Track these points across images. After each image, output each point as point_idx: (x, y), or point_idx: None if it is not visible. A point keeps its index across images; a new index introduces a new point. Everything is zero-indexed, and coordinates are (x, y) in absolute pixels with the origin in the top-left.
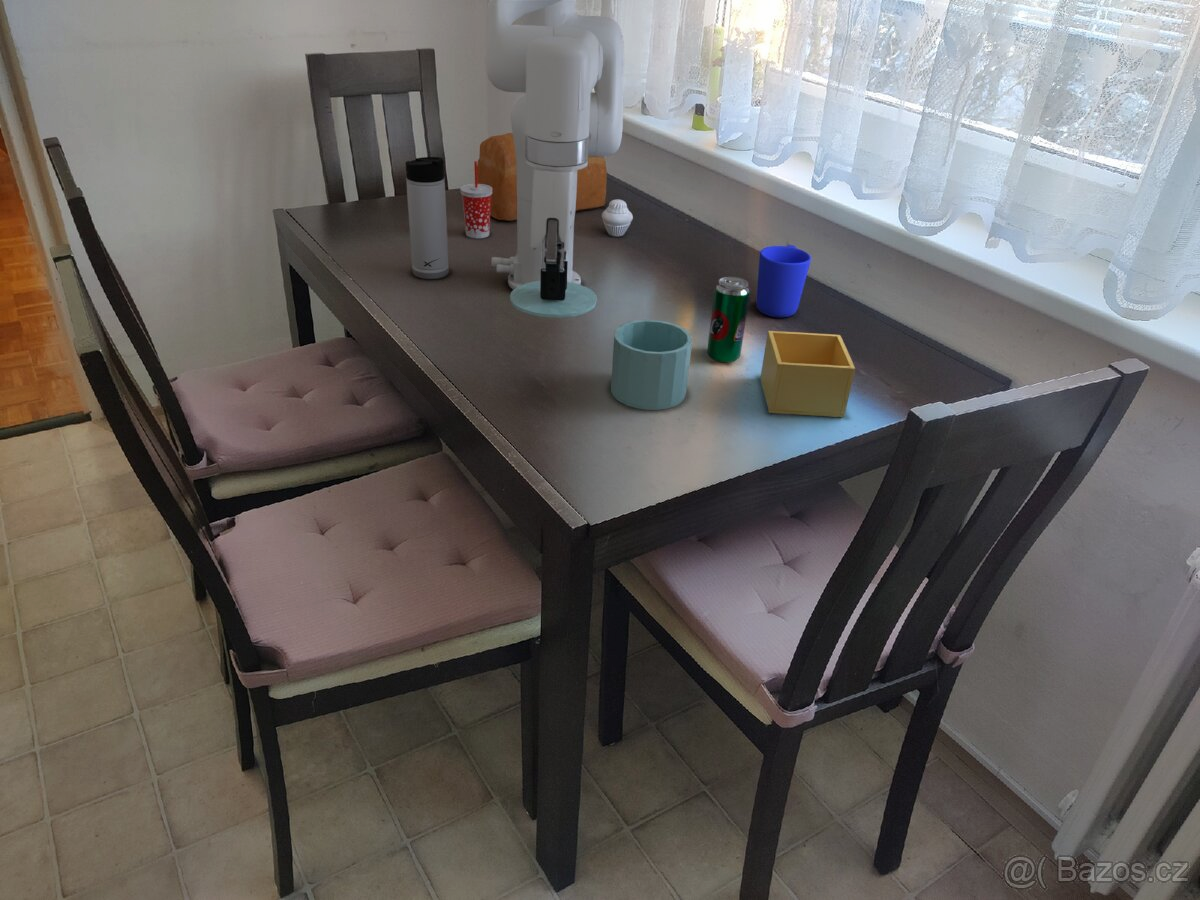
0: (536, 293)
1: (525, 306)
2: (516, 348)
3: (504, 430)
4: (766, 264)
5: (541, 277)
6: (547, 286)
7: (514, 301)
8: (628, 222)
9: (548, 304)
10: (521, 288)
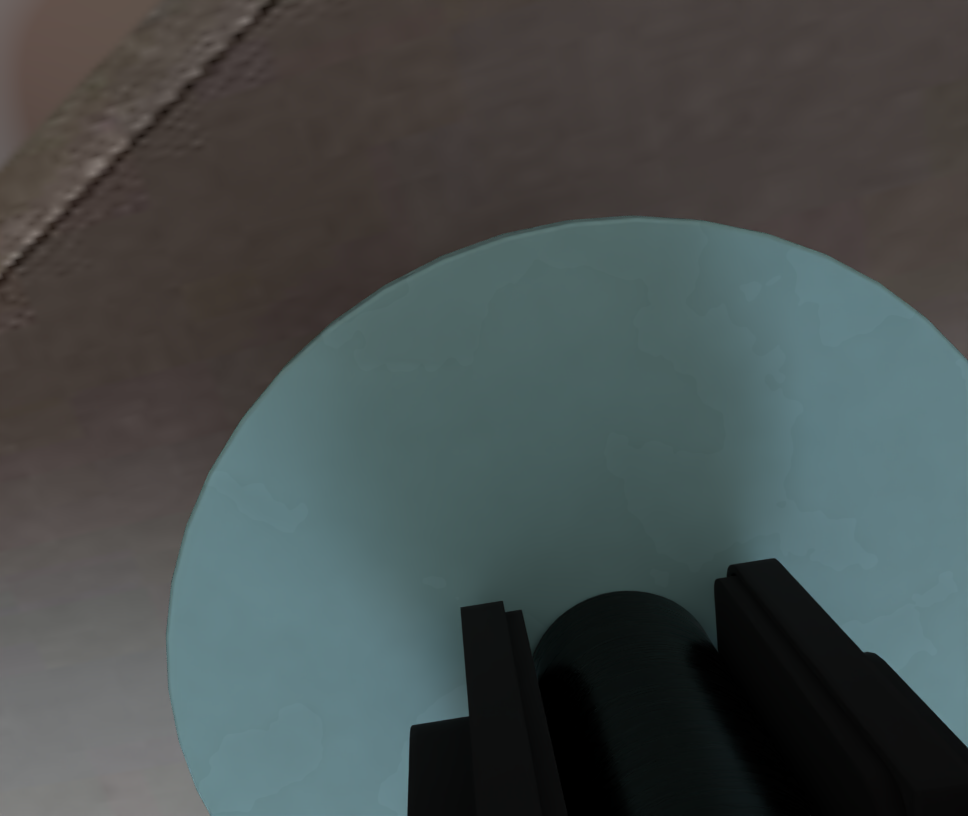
0: (659, 497)
1: (281, 474)
2: (895, 122)
3: (36, 285)
4: None
5: (478, 778)
6: (415, 796)
7: (370, 327)
8: None
9: (411, 671)
10: (766, 306)
